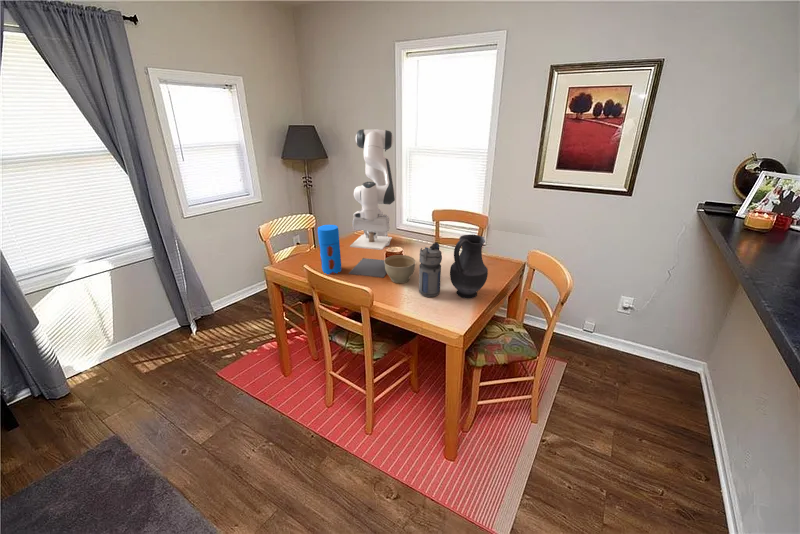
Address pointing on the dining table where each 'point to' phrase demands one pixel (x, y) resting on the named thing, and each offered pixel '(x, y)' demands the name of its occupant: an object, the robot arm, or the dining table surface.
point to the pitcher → (468, 266)
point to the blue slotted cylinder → (329, 249)
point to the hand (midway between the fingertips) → (371, 238)
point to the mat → (370, 268)
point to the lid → (371, 242)
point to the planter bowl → (399, 267)
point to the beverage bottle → (430, 271)
